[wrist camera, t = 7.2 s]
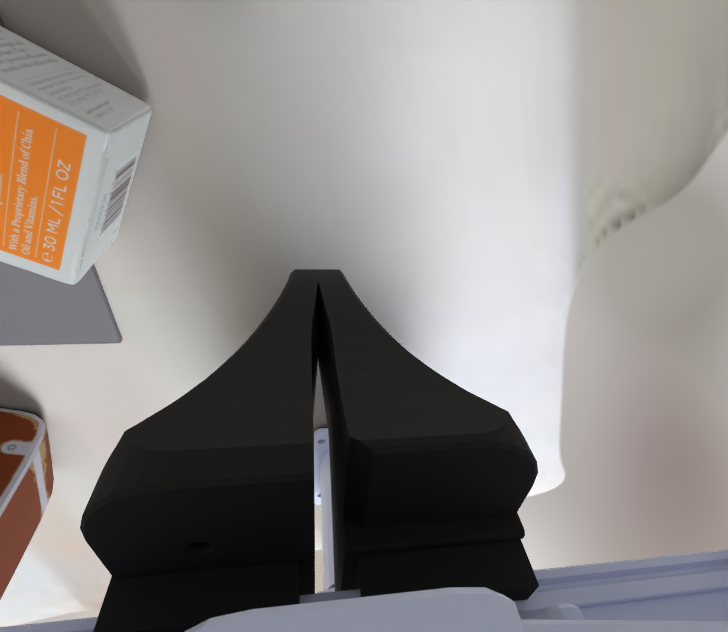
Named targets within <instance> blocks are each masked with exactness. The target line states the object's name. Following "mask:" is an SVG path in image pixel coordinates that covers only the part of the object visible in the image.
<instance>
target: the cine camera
mask: <svg viewBox="0 0 728 632" xmlns="http://www.w3.org/2000/svg"><path fill="white" fill-rule="evenodd" d="M53 480H54V476H53V469H52V462H51V455H50V447H49V440H48V434H47V429H46V425H45V423H44V421H43V420H41V419H40V418H39V417H37V416H36V415H34V414H31V413H27V412H24V411H18V410H11V409H3V408H0V599H1V597H2V595H3V593H4V591H5V590H6V588H7V586H8V584H9V582H10V580H11V578H12V576H13V574H14V572H15V570H16V568H17V566H18V564H19V562H20V560H21V558H22V556H23V554H24V552H25V550H26V548H27V546H28V544H29V542H30V540H31V538H32V536H33V534H34V532H35V530H36V528H37V526H38V524H39V522H40V520H41V518H42V516H43V513H44V511H45V508H46V506H47V503H48V501H49V499H50V496H51V494H52V489H53Z"/></svg>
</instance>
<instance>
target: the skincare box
mask: <svg viewBox="0 0 728 632" xmlns="http://www.w3.org/2000/svg"><path fill="white" fill-rule="evenodd" d="M151 113H152V108H151V107H150V106H149V105H148V104H147V103H145V102H143V101H142V100H140V99H138V98H136V97H134V96H132V95H131V94H129V93H127V92H125V91H123V90H121V89H119V88H117V87H116V86H114V85H112V84H110V83H108V82H106V81H104V80H102V79H100V78H98V77H96V76H94V75H93V74H91V73H89V72H87V71H85V70H83V69H81V68H79V67H78V66H76V65H74V64H72V63H70V62H68V61H66V60H64V59H62V58H60V57H58V56H57V55H55V54H53V53H51V52H49V51H47V50H45V49H43V48H41V47H40V46H38V45H36V44H34V43H32V42H30V41H28V40H26V39H24V38H23V37H21V36H19V35H17V34H15V33H13V32H11V31H9V30H7V29H5V28H3V27H2V26H0V261H1V262H4V263H7V264H10V265H13V266H16V267H19V268H22V269H25V270H28V271H31V272H34V273H37V274H40V275H43V276H45V277H48V278H51V279H54V280H57V281H60V282H63V283H66V284H71V285H74V284H76V283H78V282H79V281H80V279H81V278H82V277H83V276H84V275H85V274H86V272H87V271H88V270H89V269H90V267H91V266H92V265H93V264H94V263H95V262H96V261H97V259H98V258H99V257H100V256H101V255H102V254H103V252H104V251H105V250H106V249H107V248H108V247H109V246H110V245H111V244H112V242H113V241H114V240H115V238H116V237H117V235H118V232H119V228H120V225H121V221H122V218H123V214H124V210H125V207H126V203H127V199H128V196H129V192H130V188H131V185H132V181H133V178H134V174H135V171H136V167H137V163H138V160H139V156H140V153H141V149H142V146H143V142H144V138H145V135H146V131H147V128H148V124H149V120H150V117H151Z"/></svg>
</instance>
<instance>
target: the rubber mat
mask: <svg viewBox="0 0 728 632" xmlns="http://www.w3.org/2000/svg"><path fill="white" fill-rule="evenodd" d="M0 26H2V23H1V20H0ZM2 27H3V26H2ZM121 341H122V337H121V335H120V332H119V329H118V327H117V324H116V322H115V319H114V316H113V314H112V311H111V308H110V306H109V303H108V301H107V298H106V295H105V293H104V290H103V288H102V285H101V282H100V280H99V277H98V274H97V272H96V269H95V267H94V264H93V265H92V266H91V267H90V269H89V270H88V271H87V272H86V274H85V275H84V276H83V277H82V278H81V279H80V281H79V282H78V283H76V284H74V285H71V284H66V283H63V282H60V281H57V280H54V279H51V278H48V277H45V276H43V275H40V274H37V273H34V272H31V271H28V270H25V269H22V268H19V267H16V266H13V265H10V264H7V263H4V262H1V261H0V346H3V345H52V344H102V343H121Z"/></svg>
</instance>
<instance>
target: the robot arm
mask: <svg viewBox="0 0 728 632" xmlns="http://www.w3.org/2000/svg"><path fill="white" fill-rule="evenodd" d="M317 362H319V369H320V376H321V383H322V390H323V397H324V404H325V410H326V417H327V425H328V428H320V429H317V430H316V431H315V432H314V439H313V412H314V400H315V387H316V375H317ZM537 473H538V469H537V461H536V459H535V457H534V455H533V453H532V452H531V450H530V448H529V446H528V444H527V442H526V440H525V438H524V436H523V434H522V433H521V431H520V429H519V428H518V426H517V425H516V423H515V422H514V420H513V419H512V417H511V415H510V414H509V412H508V411H506V410H504V409H502V408H500V407H498V406H496V405H494V404H492V403H490V402H488V401H486V400H484V399H482V398H480V397H478V396H476V395H474V394H472V393H470V392H468V391H466V390H464V389H463V388H461V387H459V386H458V385H456V384H454V383H453V382H451V381H449V380H448V379H446V378H444V377H443V376H441V375H440V374H438V373H437V372H435V371H434V370H432V369H431V368H429V367H428V366H427V365H425V364H424V363H423V362H421V361H420V360H419V359H417V358H416V357H415V356H413V355H412V354H411V353H410V352H408V351H407V350H406V349H405V348H404V347H402V346H401V345H400V344H399V343H398V342H397V341H396V340H395V339H394V338H393V337H392V336H391V335H390V334H389V333H388V332H387V331H386V330H385V329H384V328H383V327H382V326H381V325H380V324H379V323H378V322H377V321H376V319H375V318H374V317H373V316H372V315H371V313H370V312H369V311H368V310H367V308H366V307H365V306H364V305H363V303H362V302H361V301H360V299H359V298H358V297H357V295H356V294H355V292H354V291H353V289H352V288H351V286H350V285H349V283H348V281H347V280H346V278H345V276H344V274H343V273H342V272H341V271H340V270H297V269H295V270H294V271H293V272H292V273H291V274H290V277H289V280H288V282H287V284H286V286H285V288H284V290H283V291H282V293H281V295H280V297H279V298H278V300H277V301H276V303H275V304H274V306H273V308H272V309H271V311H270V312H269V313H268V315H267V316H266V317H265V319H264V320H263V321H262V323H261V324H260V325H259V327H258V328H257V329H256V330H255V332H254V333H253V334H252V335H251V336H250V338H249V339H248V340H247V341H246V342H245V343H244V344H243V345H242V346H241V347H240V348H239V349H238V350H237V351H236V352H235V353H234V354H233V355H232V356H231V357H230V358H229V359H228V360H227V361H226V362H225V363H224V364H223V365H222V366H220V367H219V368H218V369H217V370H216V371H215V372H214V373H212V374H211V375H210V376H209V377H208V378H206V379H205V380H204V381H202V382H201V383H200V384H198V385H197V386H196V387H194V388H193V389H192V390H190V391H189V392H188V393H186V394H185V395H183V396H182V397H181V398H179V399H178V400H176V401H175V402H173V403H172V404H170V405H168V406H167V407H165V408H163V409H162V410H160V411H159V412H157V413H155V414H154V415H152V416H150V417H149V418H147V419H145V420H144V421H142V422H140V423H139V424H137V425H135V426H133V427H132V428H130V429H128V430H126V431H125V432H124V434H123V435H122V437H121V439H120V441H119V442H118V444H117V446H116V448H115V449H114V451H113V452H112V454H111V456H110V457H109V459H108V461H107V463H106V465H105V466H104V468H103V470H102V472H101V475H100V477H99V479H98V481H97V484H96V486H95V488H94V490H93V493H92V495H91V497H90V499H89V502H88V504H87V506H86V509H85V511H84V513H83V515H82V520H81V526H80V529H81V531H82V533H83V536H84V538H85V540H86V542H87V543H88V544H89V546H90V547H91V548H92V550H93V551H94V552H95V554H96V555H97V556H98V558H99V559H100V560H101V562H102V563H103V564H104V566H105V567H106V568H107V570H108V571H109V572H110V574H111V575H112V578H111V581H110V584H109V586H108V589H107V592H106V595H105V598H104V601H103V604H102V607H101V610H100V613H99V616H98V617H93V618H83V619H74V620H64V621H56V622H46V623H37V624H27V625H18V626H8V627H0V632H728V550H719V551H708V552H699V553H690V554H681V555H672V556H662V557H652V558H643V559H634V560H624V561H615V562H606V563H597V564H587V565H578V566H569V567H559V568H550V569H541V570H533V569H532V566H531V564H530V561H529V559H528V557H527V554H526V552H525V549H524V547H523V544H522V542H521V539H522V538H523V537H524V536H525V531H524V528H523V525H522V523H521V521H520V518H519V516H518V514H517V511H518V509H519V508H520V506H521V504H522V503H523V501H524V499H525V498H526V496H527V494H528V493H529V491H530V489H531V488H532V486H533V484H534V481H535V479H536V476H537ZM314 502H315V504H317V505H321V518H322V549H323V579H324V591H321V592H318V593H317V594H315V523H314Z"/></svg>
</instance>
